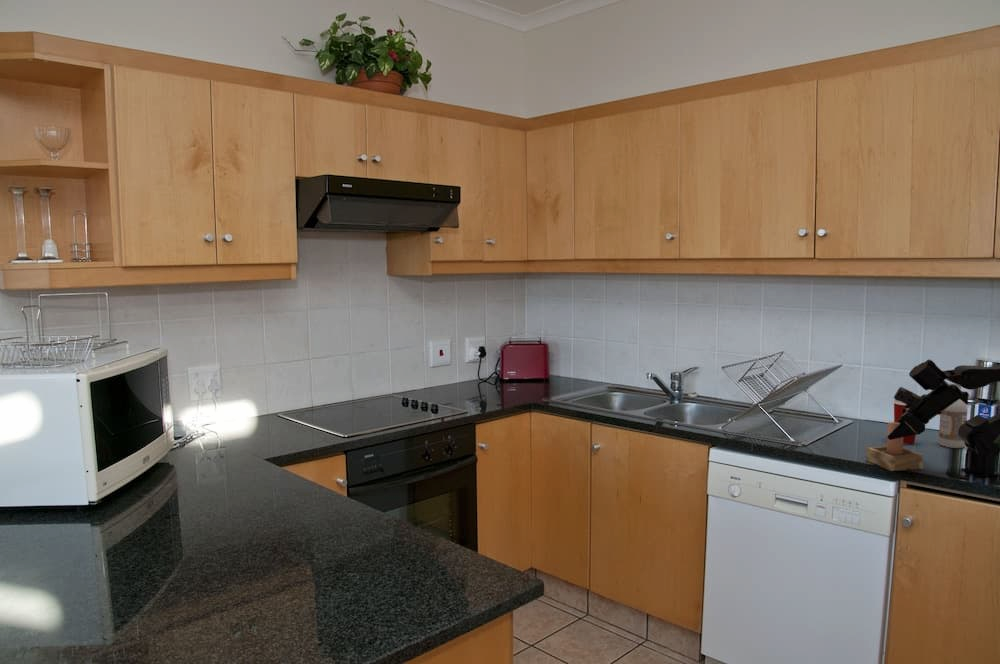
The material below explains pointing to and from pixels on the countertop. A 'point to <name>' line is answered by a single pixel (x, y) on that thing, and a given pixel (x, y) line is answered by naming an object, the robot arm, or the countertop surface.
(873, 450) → the box
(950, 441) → the bath foam
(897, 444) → the peg
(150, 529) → the countertop surface
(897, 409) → the paper cup
